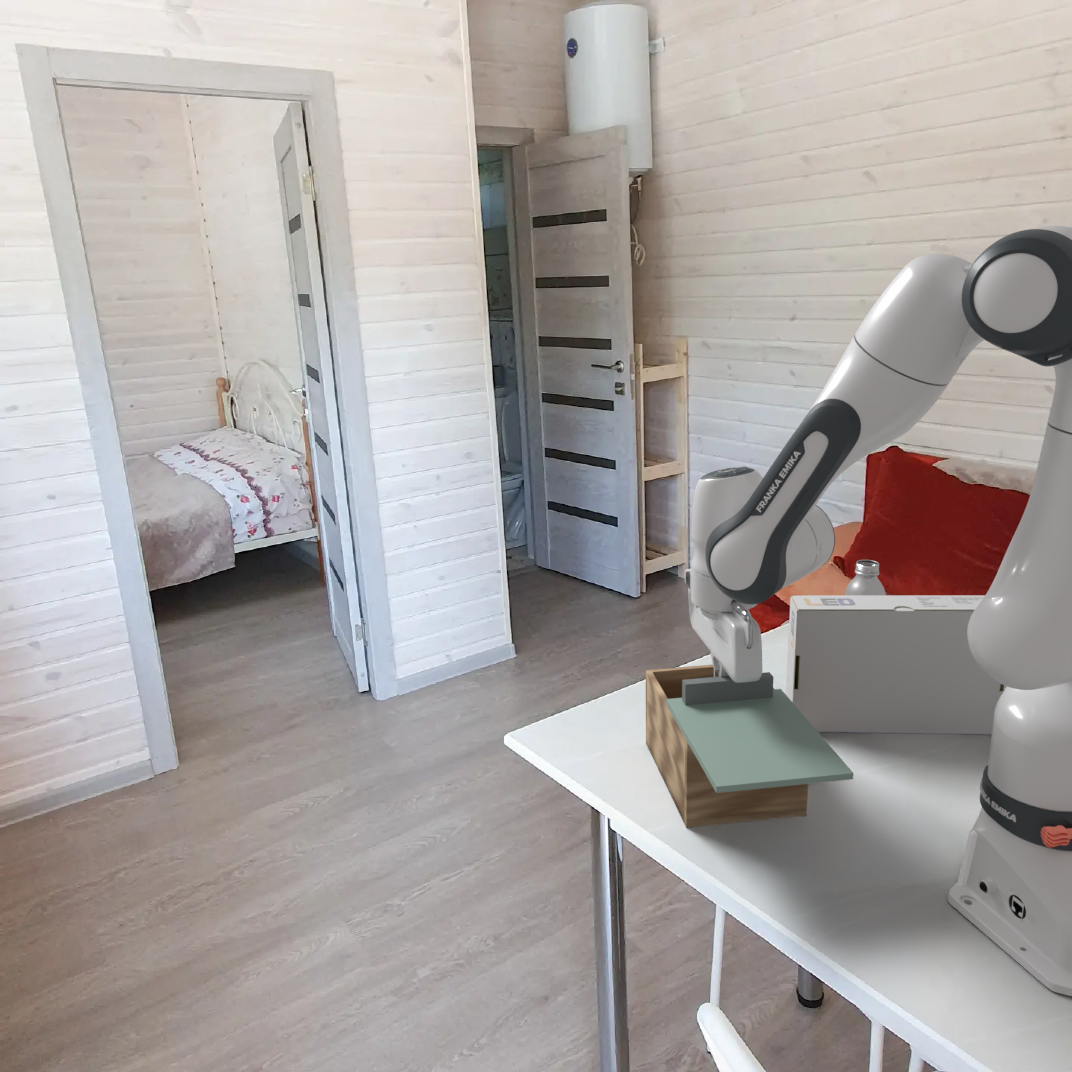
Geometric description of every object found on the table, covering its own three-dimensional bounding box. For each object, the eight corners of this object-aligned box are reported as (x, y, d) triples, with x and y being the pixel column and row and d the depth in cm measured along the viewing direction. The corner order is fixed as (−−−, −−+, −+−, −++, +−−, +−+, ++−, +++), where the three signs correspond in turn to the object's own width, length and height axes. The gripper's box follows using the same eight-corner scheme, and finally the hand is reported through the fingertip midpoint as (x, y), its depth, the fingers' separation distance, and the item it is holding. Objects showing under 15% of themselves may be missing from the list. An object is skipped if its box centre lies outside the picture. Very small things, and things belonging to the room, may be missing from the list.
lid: (853, 779, 104) (855, 749, 103) (716, 793, 103) (717, 762, 102) (780, 694, 125) (781, 668, 124) (666, 704, 124) (666, 678, 123)
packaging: (984, 716, 143) (997, 595, 137) (999, 735, 137) (1014, 610, 131) (785, 713, 146) (790, 595, 140) (791, 732, 140) (797, 609, 134)
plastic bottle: (855, 683, 155) (862, 571, 149) (832, 667, 161) (839, 559, 156) (888, 677, 157) (897, 566, 151) (864, 662, 163) (872, 555, 157)
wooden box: (806, 815, 119) (810, 732, 116) (686, 827, 117) (687, 743, 114) (748, 733, 140) (750, 661, 137) (645, 743, 138) (645, 670, 135)
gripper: (777, 614, 111) (773, 717, 115) (724, 563, 131) (722, 653, 135) (726, 618, 111) (724, 722, 115) (681, 567, 130) (680, 657, 134)
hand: (723, 684), depth 125 cm, fingers closed
